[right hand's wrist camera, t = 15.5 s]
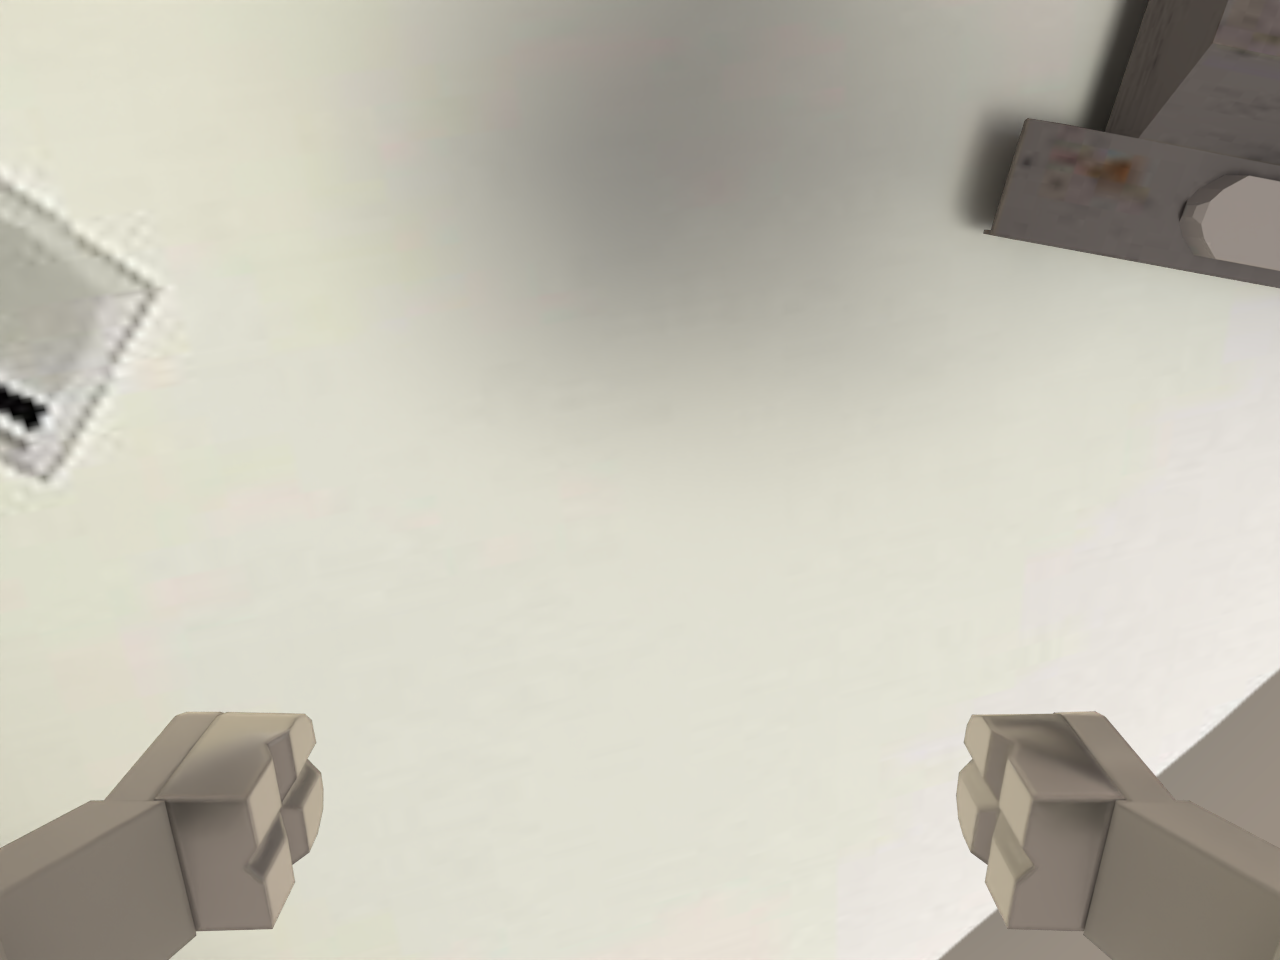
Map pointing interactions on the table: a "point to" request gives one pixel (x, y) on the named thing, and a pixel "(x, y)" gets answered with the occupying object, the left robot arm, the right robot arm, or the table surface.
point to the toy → (1168, 152)
